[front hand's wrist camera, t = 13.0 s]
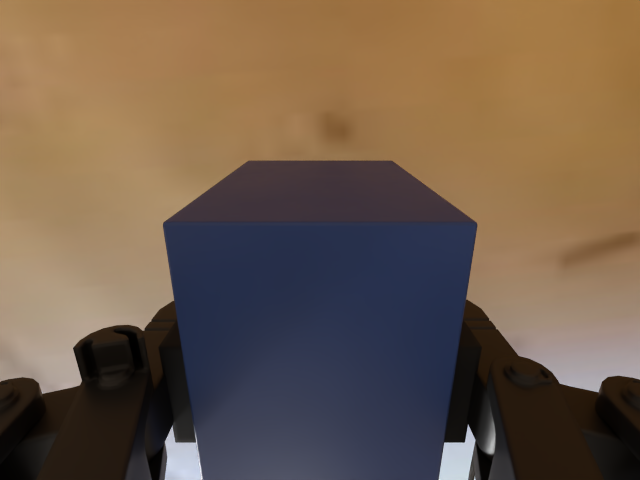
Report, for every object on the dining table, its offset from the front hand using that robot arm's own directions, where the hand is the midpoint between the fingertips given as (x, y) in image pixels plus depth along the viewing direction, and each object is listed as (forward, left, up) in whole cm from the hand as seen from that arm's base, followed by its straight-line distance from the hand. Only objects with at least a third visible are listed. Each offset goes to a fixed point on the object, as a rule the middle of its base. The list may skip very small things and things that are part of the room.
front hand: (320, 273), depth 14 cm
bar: (+4, +7, -1) cm, 8 cm away
